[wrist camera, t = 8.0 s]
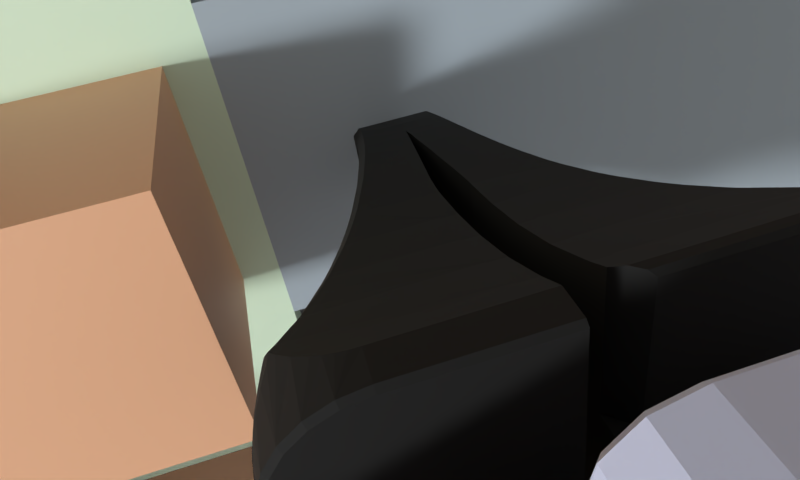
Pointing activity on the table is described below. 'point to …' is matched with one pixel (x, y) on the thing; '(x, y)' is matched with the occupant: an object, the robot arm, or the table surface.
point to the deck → (423, 100)
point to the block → (114, 290)
